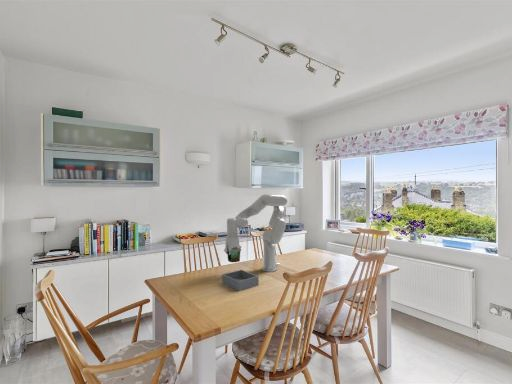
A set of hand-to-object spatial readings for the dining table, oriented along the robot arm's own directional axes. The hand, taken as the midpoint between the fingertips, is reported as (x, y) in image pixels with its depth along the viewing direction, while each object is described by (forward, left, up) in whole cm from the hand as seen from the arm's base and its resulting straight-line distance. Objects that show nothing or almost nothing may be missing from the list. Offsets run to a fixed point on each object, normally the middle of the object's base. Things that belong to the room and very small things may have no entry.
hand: (233, 258), depth 204 cm
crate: (+8, +19, -12) cm, 24 cm away
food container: (+1, 0, -2) cm, 2 cm away
